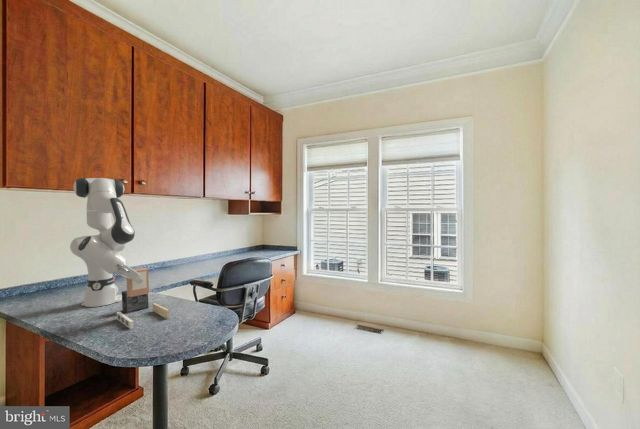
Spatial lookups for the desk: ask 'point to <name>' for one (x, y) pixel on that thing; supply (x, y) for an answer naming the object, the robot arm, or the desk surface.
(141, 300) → the small box
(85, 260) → the robot arm
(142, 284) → the carton
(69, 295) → the desk surface
